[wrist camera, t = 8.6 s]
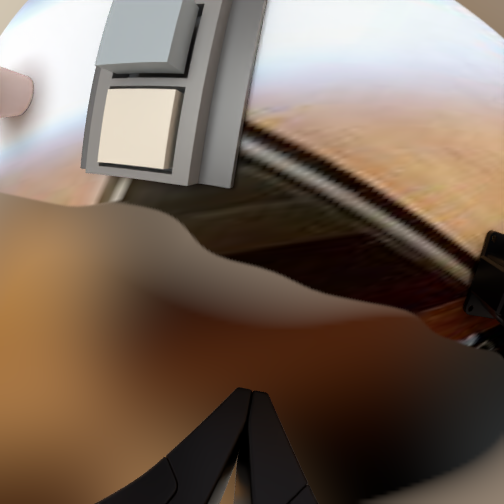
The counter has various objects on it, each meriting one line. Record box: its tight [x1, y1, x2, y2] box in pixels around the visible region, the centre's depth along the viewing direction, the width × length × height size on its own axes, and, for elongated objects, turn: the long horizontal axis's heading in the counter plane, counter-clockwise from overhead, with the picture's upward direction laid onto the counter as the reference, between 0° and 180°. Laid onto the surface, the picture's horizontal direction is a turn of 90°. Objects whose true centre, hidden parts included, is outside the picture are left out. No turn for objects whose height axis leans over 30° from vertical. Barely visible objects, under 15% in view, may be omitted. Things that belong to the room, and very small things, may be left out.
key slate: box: [95, 0, 199, 74], centre depth 13 cm, size 4×4×2 cm
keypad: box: [81, 0, 267, 188], centre depth 16 cm, size 11×17×3 cm, turn 170°
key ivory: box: [97, 89, 184, 169], centre depth 17 cm, size 4×4×2 cm
